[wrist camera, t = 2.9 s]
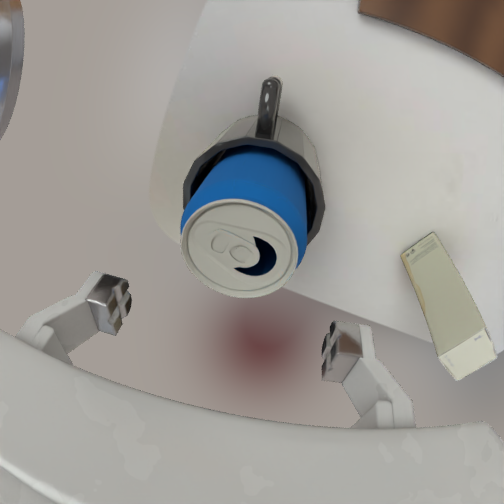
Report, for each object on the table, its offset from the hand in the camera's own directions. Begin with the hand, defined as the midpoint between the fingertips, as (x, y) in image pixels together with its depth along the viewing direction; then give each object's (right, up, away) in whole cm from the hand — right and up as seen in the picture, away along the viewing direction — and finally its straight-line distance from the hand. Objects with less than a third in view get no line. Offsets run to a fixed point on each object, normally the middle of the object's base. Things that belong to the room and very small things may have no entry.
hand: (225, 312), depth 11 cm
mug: (+2, +11, +12) cm, 16 cm away
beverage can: (+2, +9, +13) cm, 16 cm away
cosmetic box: (+19, +1, +16) cm, 25 cm away
